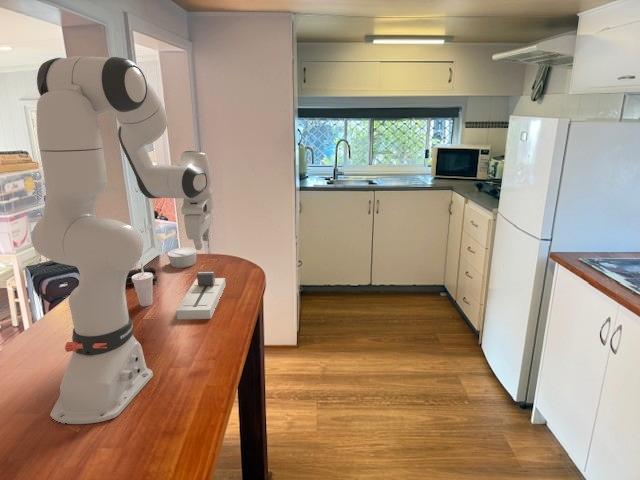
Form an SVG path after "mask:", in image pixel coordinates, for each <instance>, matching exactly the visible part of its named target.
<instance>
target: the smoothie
mask: <svg viewBox="0 0 640 480" xmlns="http://www.w3.org/2000/svg"><path fill="white" fill-rule="evenodd" d="M143 268H144V265H143V261H140V269H141V271H142V273H138V274H135V275H133V276H132V281H133V282H132V283H133V286H134V289H135V293H136V295H137V299H138V302H139V305H140V307H149V306H152V304H153V283H152V279H153V274H152V273H149V272H144V271H143Z"/></svg>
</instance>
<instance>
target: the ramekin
mask: <svg viewBox="0 0 640 480" xmlns="http://www.w3.org/2000/svg"><path fill="white" fill-rule="evenodd" d="M197 254H198V250H196V249H195V248H194V247H189V246H185V247H183V246H182V247H178V248H177V247H176V248H174V249H171V250H169V251H168V252H167V258H168V260H169V264H170V266H172V267H173V268H177V269H184V268H189V267H192V266H194V265H195V264H196V262H197Z"/></svg>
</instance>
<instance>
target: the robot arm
mask: <svg viewBox="0 0 640 480" xmlns="http://www.w3.org/2000/svg"><path fill="white" fill-rule="evenodd" d="M36 75H37V76H36V84H37V91H38V93H39V98H38V99H37V102H36V134H37V135H36V136H37V142H38V149H39V154H40V159H41V160H40V161H41V166H42V171H43V178H44V186H45V199H44V200H45V201H44V206H43V207H44V208H43V212H42V216H41V218H40V219H39V220H38V222H37V223H36V224H35V225H34V227H33V229H32V232H31V244H32V246H33V248H34V250H35V251H36V252H37V253H38V254H40V255H41V256H42V257H44V258H46V259H48V260H50V261H51V262H54V263H56V264H61V265H66V266H72V267H76V268H77V271H78V272H79V273H78V274H79V280H78V281H79V282H78V286H77V287H75V288H74V289H73V290H72V291H71V292H70V294H69V297H68V305H69V310H70V314H71V319H72V323H73V329H72V335H71V340H72V341H68V342H66V343H65V346H64V350H65V352H67V353H70V352H72V353H71V356H70V358H69V360H68V364H67V365H66V370H65V371H64V374H63V377H62V380H61V383H60V385H59V387H60V388H59V397H58V398H57V400H56V402H55V404H54V406H53V408H52V410H51V412H50V413H49V415H50V416H51V417H52V418H53V419H54V420H56V421H58V422H57V423H59V422H61V423H60V424H65V423H67V425H85V424H96V423H101V422H106V421H108V420H111V419H114V418H117V417H118V416H119V415H120V414H121V413H122V412H123V411H124V410H125V409H126V407H127V406H128V405H129V404H130V403H131V402H132V401H133V400H134V399H135V397H136V396H137V395H138V394H139V393H140V391H142V390H143V388H144V387H145V386H146V385H147V384H148V382H149V381H150V380H151V379H152V378H153V376H154V373H153V371H152V369H150V368H148V367H147V364H146V360H145V356H144V352H143V348H142V344H141V343H140V342H139V341H138V340H137V339H136V337H135V336H134V328H133V327H134V324H133V321H132V318H131V316H130V315H129V309H128V305H127V304H128V302H127V295H126V294H127V293H126V285H127V284H126V279H127V275H128V273H129V271H132V269H134V267H135V266H137V264H138V263H139V261H140V260H141V258H142V256H143V251H144V241H143V237H142V234H141V233H140V232H139V230H138V229H137V228H135V227H134V226H132V225H130V224H127V223H125V222H122V221H120V220H118V219H114V218H113V219H112V218H104V217H97V214H96V206H97V201H98V198H99V196H100V195H102V194H103V193H104V192H105V191H106V190H107V188H108V184H109V179H108V173H107V165H106V159H105V153H104V152H105V150H104V144H103V139H102V134H101V130H100V129H101V128H100V126H99V122H98V117H99V114H107V113H113V116H114V117H115V118H116V120H117V121H118V123H119V125H120V126H119V127H118V131H117V136H118V141H119V144H120V146H121V149H122V150H123V153H124V155H125V157H126V159H127V161H128V163H129V165H130V167H131V169H132V171H133V174H134V176H135V178H136V179H135V180H136V184H137V187H138V189H139V191H140V192H141V193H142V195H144V197H146V198H148V199H183V203H182V206H181V214H182V215H184V216H183V222H184V229H185V233H186V237H187V239H188V240H193V244H194V247H195V249H196V250H197V251H201V250H202V248H203V243H202V241H203V242H208V241H209V239H210V237H209V236H210V235H209V234H210V227H211V225H213V221H214V219H213V210H212V209H213V208H214V198H213V197H214V195H213V190H212V187H211V183H212V173H211V171H212V170H211V166H210V165H211V164H210V161H209V158H208V154H207V153H205V152H202V151H199V150H198V151H195V150H186V151H182V152H181V155H180V162H179V163H177V164H176V165H175V164H174V165H173V164H158V163H156V162H154V161H152V159H151V156H150V155H149V152H148V150H147V147H146V146H147V145H150V144H153V143H155V142H157V140H158V139H160V138H161V137H162V135H164V133H165V131H166V129H167V126H168V114H167V112H166V109H165V107H164V105H163V103H162V101H161V100H160V98H159V95H158V94H157V93H156V90H155V89H154V87H153V86H152V85H151V83H150V81H149V80H148V79H147V78H146V76H145V74H144V72H143V71H142V69H141V68H140V67H139V66H138V65H137V64H136V63H135V62H134V61H132V60H130V59H128V58H123V57H119V56H118V57H117V56H112V57H104V56H91V55H77V56H76V55H75V56H69V57H55V58H52V59H51V58H50V59H48V60H46V61H45V62H43V63H41V65H40V67H39V69H38V72H37V74H36ZM201 240H202V241H201ZM50 416H49V417H50ZM63 416H64V417H63ZM54 420H53V421H54ZM56 421H55V422H56Z"/></svg>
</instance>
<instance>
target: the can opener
mask: <svg viewBox="0 0 640 480" xmlns="http://www.w3.org/2000/svg"><path fill="white" fill-rule="evenodd" d="M143 271H144V272H149V273H152V274H153V279H152V284H155V283H156V282H157V280H158V276H157V275H156V273H157V271H156V268H155V267H153V266H151V267H143ZM138 273H142V271H141V268H139V269H138V268H135V269H134V270H130V271H129V273H128V275H127V279H126V285H127V284H131V283H133V281H132V276H133V275H135V274H138Z"/></svg>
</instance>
